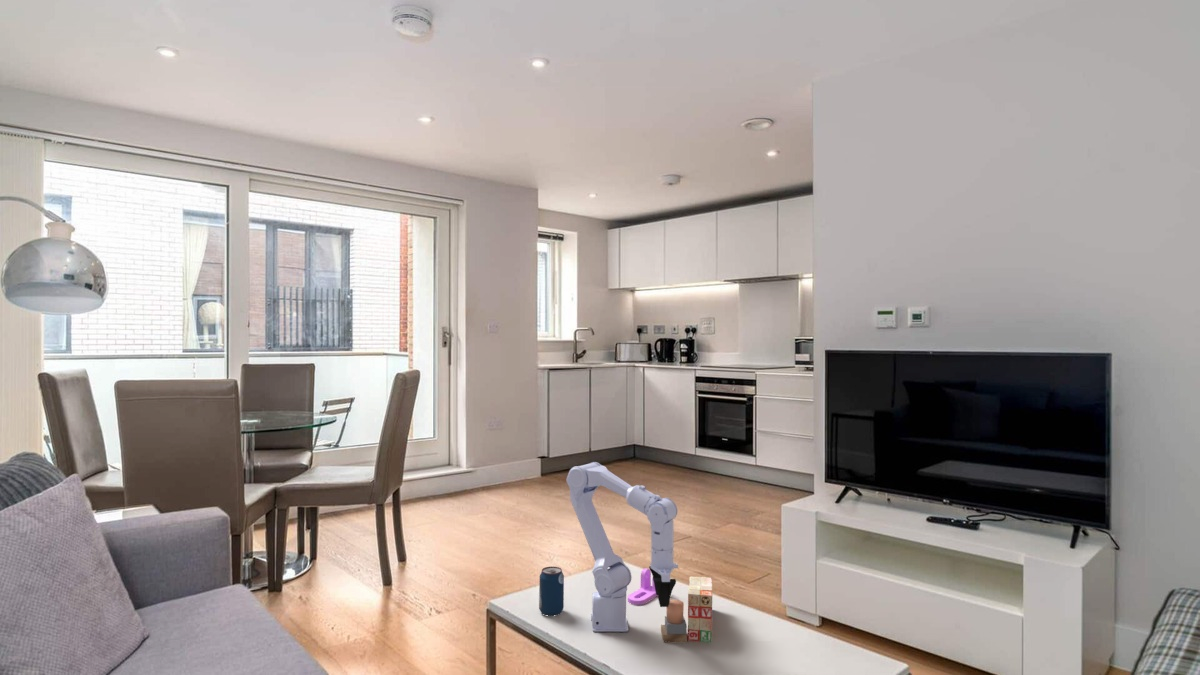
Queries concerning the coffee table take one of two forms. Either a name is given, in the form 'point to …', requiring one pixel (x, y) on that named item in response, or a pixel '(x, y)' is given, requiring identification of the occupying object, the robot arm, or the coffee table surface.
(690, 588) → the stack of blocks
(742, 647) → the coffee table surface
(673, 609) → the terracotta cylinder
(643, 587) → the bracket
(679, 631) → the tower top
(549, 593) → the soda can
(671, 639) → the tower base
